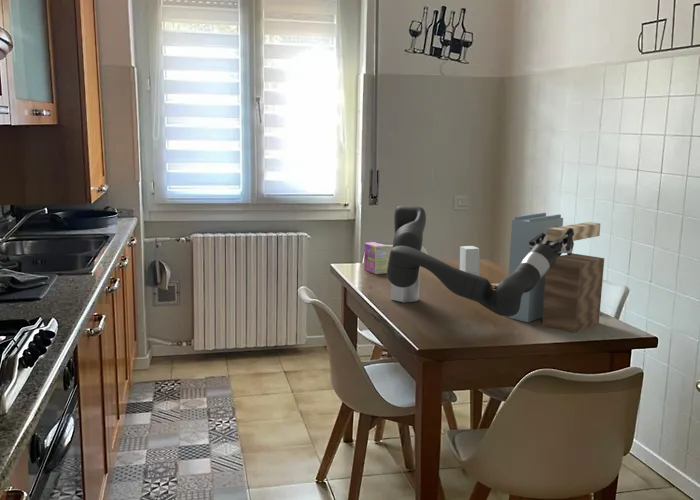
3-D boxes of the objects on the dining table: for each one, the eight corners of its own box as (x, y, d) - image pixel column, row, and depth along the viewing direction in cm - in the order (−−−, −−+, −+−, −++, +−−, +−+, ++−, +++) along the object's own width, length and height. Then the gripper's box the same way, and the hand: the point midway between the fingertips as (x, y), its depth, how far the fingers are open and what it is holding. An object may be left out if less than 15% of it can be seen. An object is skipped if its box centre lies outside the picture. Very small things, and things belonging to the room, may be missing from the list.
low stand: (574, 332, 211) (580, 264, 208) (542, 324, 219) (546, 259, 215) (598, 322, 223) (604, 258, 219) (567, 315, 230) (571, 253, 227)
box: (363, 269, 298) (364, 242, 296) (375, 269, 300) (376, 241, 298) (374, 274, 289) (375, 246, 287) (386, 273, 291) (387, 245, 289)
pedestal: (527, 322, 222) (534, 219, 216) (506, 317, 227) (512, 216, 221) (556, 312, 234) (563, 214, 228) (535, 308, 240) (541, 212, 234)
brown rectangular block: (558, 243, 204) (559, 230, 203) (546, 242, 207) (547, 228, 206) (599, 235, 222) (600, 223, 221) (587, 234, 225) (588, 222, 224)
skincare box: (479, 286, 271) (481, 248, 268) (464, 286, 270) (466, 248, 267) (472, 281, 279) (474, 245, 276) (458, 281, 278) (459, 245, 276)
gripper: (557, 256, 194) (585, 221, 203) (512, 249, 204) (541, 216, 213) (562, 277, 198) (589, 242, 206) (518, 269, 207) (545, 236, 216)
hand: (564, 229), depth 209 cm, fingers closed on brown rectangular block, 4 cm apart
